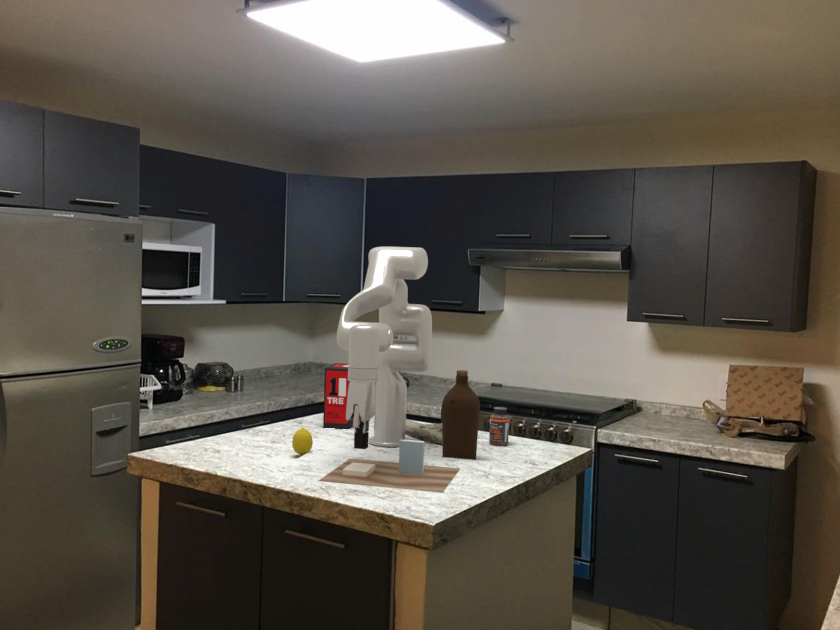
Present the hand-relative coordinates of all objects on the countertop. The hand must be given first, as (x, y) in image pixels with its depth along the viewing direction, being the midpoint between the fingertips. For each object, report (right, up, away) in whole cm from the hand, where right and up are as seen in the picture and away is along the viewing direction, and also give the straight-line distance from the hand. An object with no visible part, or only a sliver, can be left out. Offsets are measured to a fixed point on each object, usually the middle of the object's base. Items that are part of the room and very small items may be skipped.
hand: (361, 448), depth 190 cm
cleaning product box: (-12, -5, +71) cm, 72 cm away
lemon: (-18, -6, +22) cm, 29 cm away
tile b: (+12, -7, +2) cm, 14 cm away
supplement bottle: (+39, -7, +47) cm, 61 cm away
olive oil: (+26, -8, +24) cm, 36 cm away
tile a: (0, -5, +3) cm, 6 cm away
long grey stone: (+15, -6, +57) cm, 60 cm away
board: (+8, -8, 0) cm, 11 cm away
